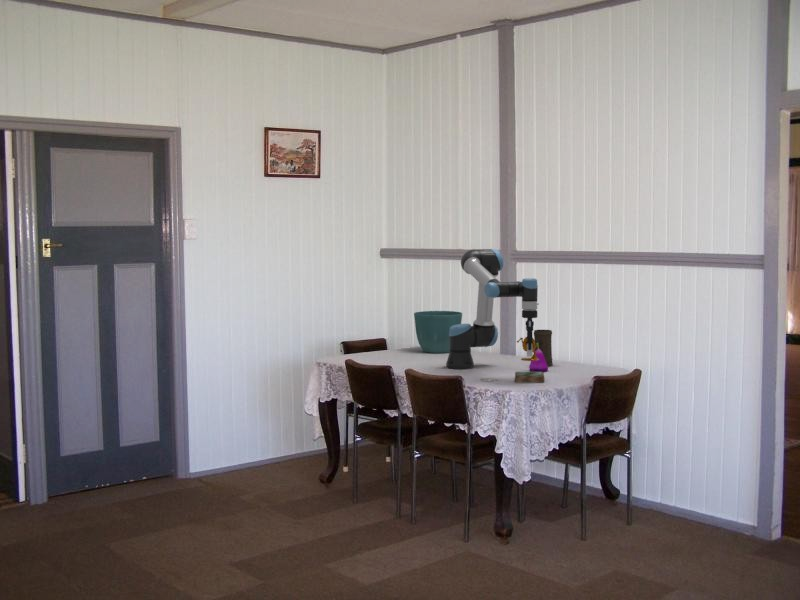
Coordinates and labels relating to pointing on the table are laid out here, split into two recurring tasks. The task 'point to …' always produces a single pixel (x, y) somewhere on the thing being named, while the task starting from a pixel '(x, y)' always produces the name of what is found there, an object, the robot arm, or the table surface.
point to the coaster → (488, 379)
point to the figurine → (526, 350)
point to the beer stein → (544, 344)
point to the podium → (529, 377)
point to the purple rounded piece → (538, 362)
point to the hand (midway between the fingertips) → (529, 355)
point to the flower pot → (435, 329)
